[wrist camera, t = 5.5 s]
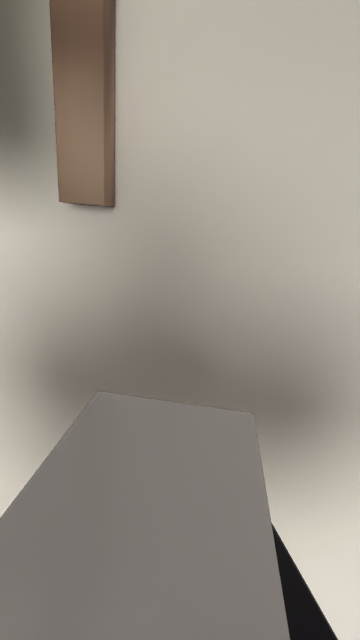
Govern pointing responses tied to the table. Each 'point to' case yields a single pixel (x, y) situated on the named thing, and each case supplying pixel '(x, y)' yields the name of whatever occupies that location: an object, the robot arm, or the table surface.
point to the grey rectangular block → (144, 530)
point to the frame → (84, 99)
